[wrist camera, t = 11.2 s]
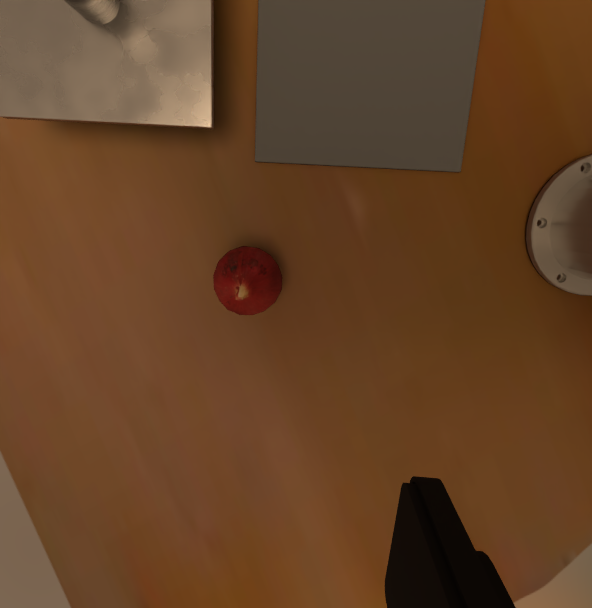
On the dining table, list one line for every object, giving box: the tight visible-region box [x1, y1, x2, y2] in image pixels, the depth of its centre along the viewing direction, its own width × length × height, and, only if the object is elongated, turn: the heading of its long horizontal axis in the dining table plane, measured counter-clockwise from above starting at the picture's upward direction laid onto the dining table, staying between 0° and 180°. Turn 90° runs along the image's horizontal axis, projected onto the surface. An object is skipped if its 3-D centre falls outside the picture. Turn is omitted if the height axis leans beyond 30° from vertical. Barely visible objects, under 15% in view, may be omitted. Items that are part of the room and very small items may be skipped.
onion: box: [214, 246, 282, 315], centre depth 33 cm, size 6×6×8 cm
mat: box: [255, 0, 485, 172], centre depth 32 cm, size 18×18×1 cm
